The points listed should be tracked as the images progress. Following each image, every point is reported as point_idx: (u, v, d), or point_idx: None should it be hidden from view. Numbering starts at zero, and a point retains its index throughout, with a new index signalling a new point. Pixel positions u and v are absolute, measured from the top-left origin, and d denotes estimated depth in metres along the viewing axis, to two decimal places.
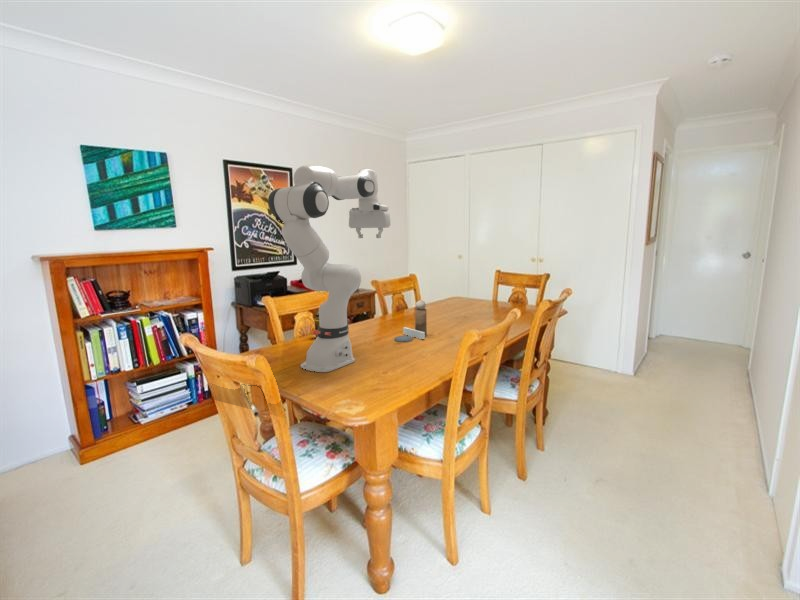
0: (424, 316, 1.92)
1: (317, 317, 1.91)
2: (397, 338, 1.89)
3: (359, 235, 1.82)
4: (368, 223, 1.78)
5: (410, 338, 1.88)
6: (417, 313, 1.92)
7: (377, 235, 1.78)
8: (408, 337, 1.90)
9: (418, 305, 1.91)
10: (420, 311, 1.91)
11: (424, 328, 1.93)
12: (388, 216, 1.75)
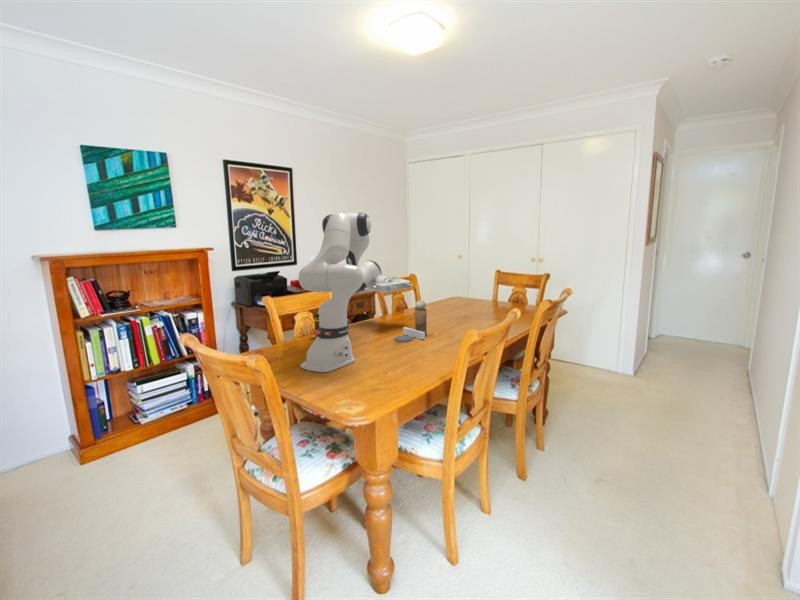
0: (424, 316, 1.92)
1: (317, 317, 1.91)
2: (397, 338, 1.89)
3: (394, 286, 1.98)
4: (396, 282, 2.06)
5: (410, 338, 1.88)
6: (417, 313, 1.92)
7: (408, 284, 2.05)
8: (408, 337, 1.90)
9: (418, 305, 1.91)
10: (420, 311, 1.91)
11: (424, 328, 1.93)
12: None
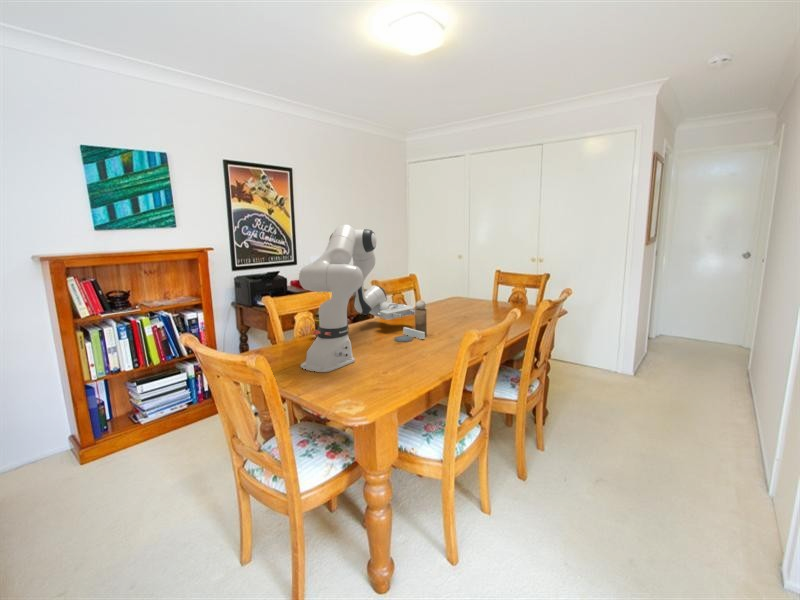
0: (424, 316, 1.92)
1: (317, 317, 1.91)
2: (397, 338, 1.89)
3: (399, 314, 1.98)
4: (400, 309, 2.06)
5: (410, 338, 1.88)
6: (417, 313, 1.92)
7: (413, 311, 2.05)
8: (408, 337, 1.90)
9: (418, 305, 1.91)
10: (420, 311, 1.91)
11: (424, 328, 1.93)
12: None
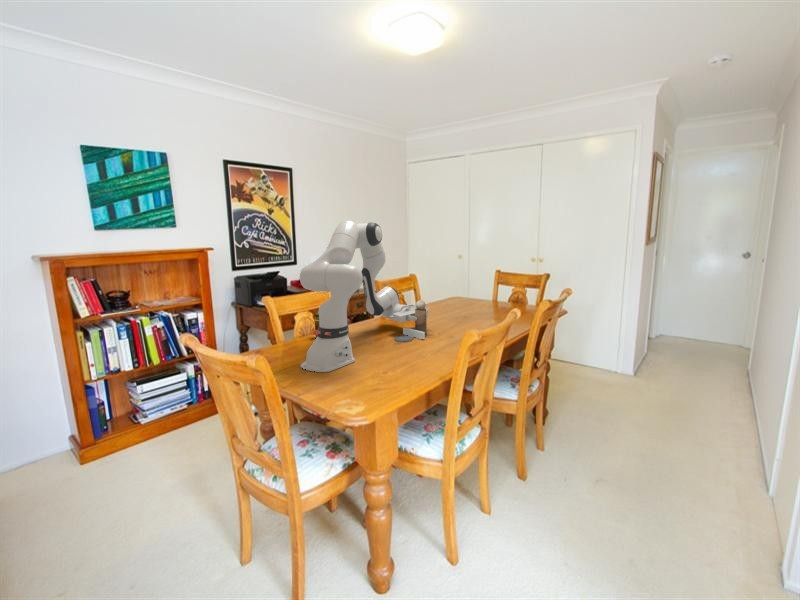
0: (424, 316, 1.92)
1: (317, 317, 1.91)
2: (397, 338, 1.89)
3: (414, 316, 1.92)
4: (413, 311, 1.99)
5: (410, 338, 1.88)
6: (417, 313, 1.92)
7: None
8: (408, 337, 1.90)
9: (418, 305, 1.91)
10: (420, 311, 1.91)
11: (424, 328, 1.93)
12: None
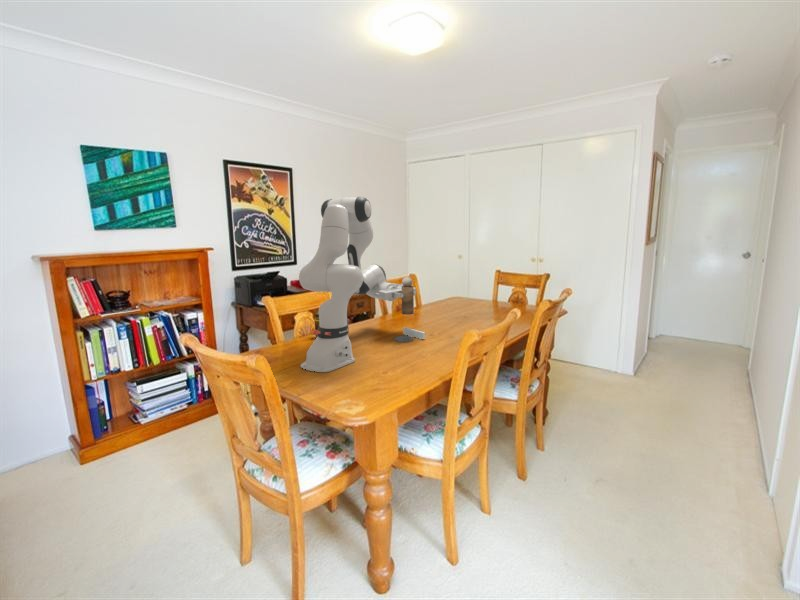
0: (411, 293, 1.84)
1: (317, 317, 1.91)
2: (397, 338, 1.89)
3: (401, 293, 1.84)
4: (400, 289, 1.91)
5: (410, 338, 1.88)
6: (403, 290, 1.84)
7: None
8: (408, 337, 1.90)
9: (405, 281, 1.83)
10: (407, 288, 1.83)
11: (411, 306, 1.85)
12: None
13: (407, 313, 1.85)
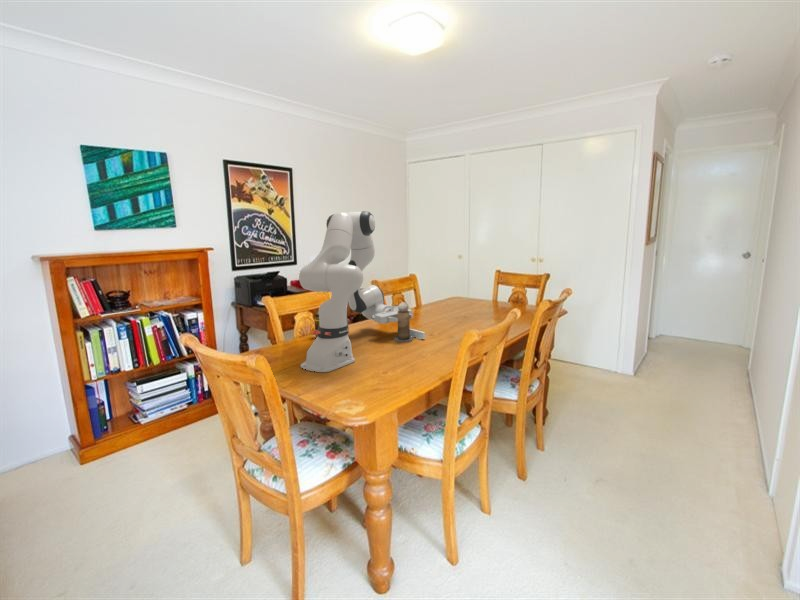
0: (407, 319, 1.85)
1: (317, 317, 1.91)
2: (397, 338, 1.89)
3: (395, 317, 1.84)
4: (396, 312, 1.91)
5: (410, 338, 1.88)
6: (399, 315, 1.84)
7: (410, 314, 1.90)
8: None
9: (400, 307, 1.84)
10: (403, 313, 1.84)
11: (407, 331, 1.86)
12: None
13: (403, 338, 1.86)
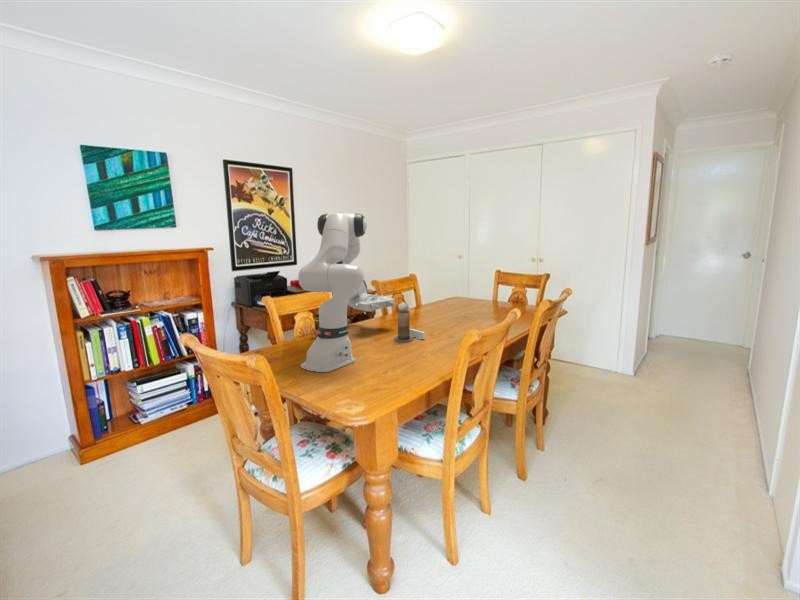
0: (407, 319, 1.85)
1: (317, 317, 1.91)
2: (397, 338, 1.89)
3: (377, 305, 1.92)
4: (379, 300, 1.99)
5: (410, 338, 1.88)
6: (399, 315, 1.84)
7: (392, 302, 1.98)
8: None
9: (400, 307, 1.84)
10: (402, 313, 1.84)
11: (407, 331, 1.86)
12: None
13: (403, 338, 1.86)
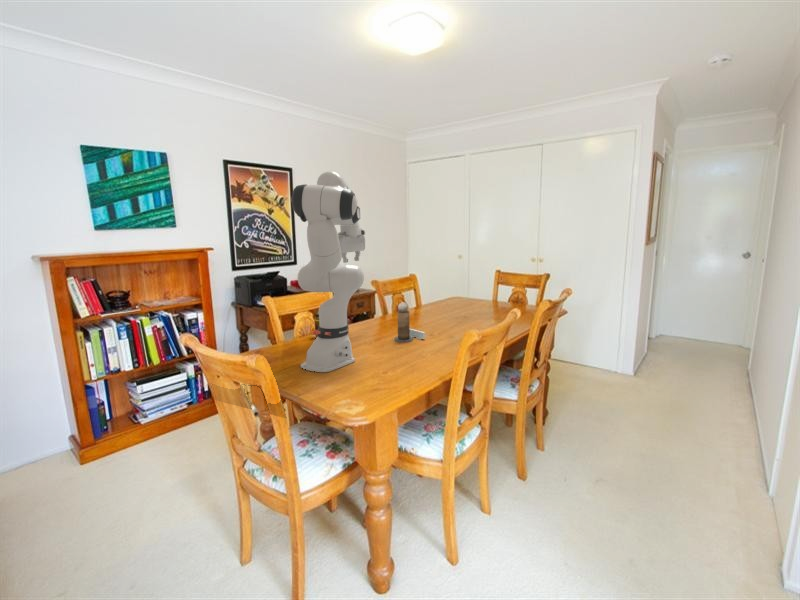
0: (407, 319, 1.85)
1: (317, 317, 1.91)
2: (397, 338, 1.89)
3: (347, 259, 1.82)
4: (354, 247, 1.85)
5: (410, 338, 1.88)
6: (399, 316, 1.84)
7: (358, 258, 1.90)
8: None
9: (400, 307, 1.84)
10: (402, 313, 1.84)
11: (407, 331, 1.86)
12: None
13: (403, 338, 1.86)
